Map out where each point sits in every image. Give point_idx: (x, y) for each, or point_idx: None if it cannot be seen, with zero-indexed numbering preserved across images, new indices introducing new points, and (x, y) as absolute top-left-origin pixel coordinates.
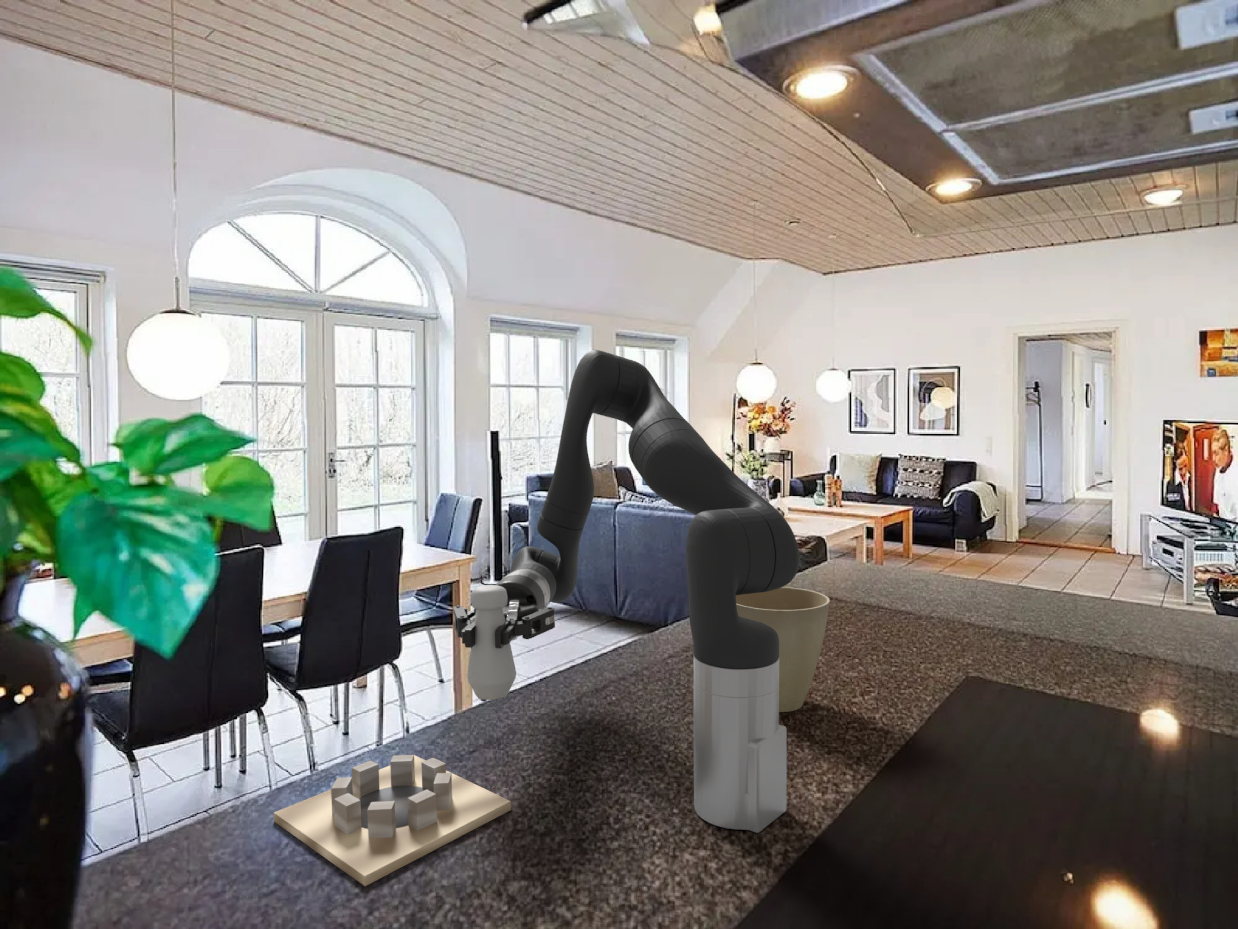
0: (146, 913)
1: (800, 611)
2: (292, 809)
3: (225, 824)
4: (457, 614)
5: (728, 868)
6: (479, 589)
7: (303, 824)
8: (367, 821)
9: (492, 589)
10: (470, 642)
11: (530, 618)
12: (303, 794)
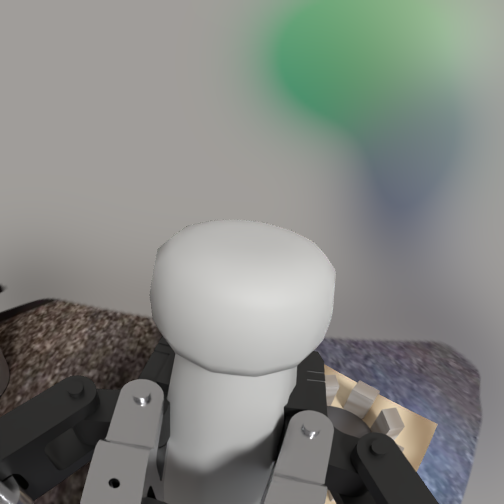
0: (420, 344)
1: None
2: (426, 430)
3: (464, 421)
4: (413, 476)
5: (33, 329)
6: (289, 231)
7: (399, 410)
8: (342, 416)
9: (226, 220)
10: None
11: (65, 381)
12: (444, 474)
